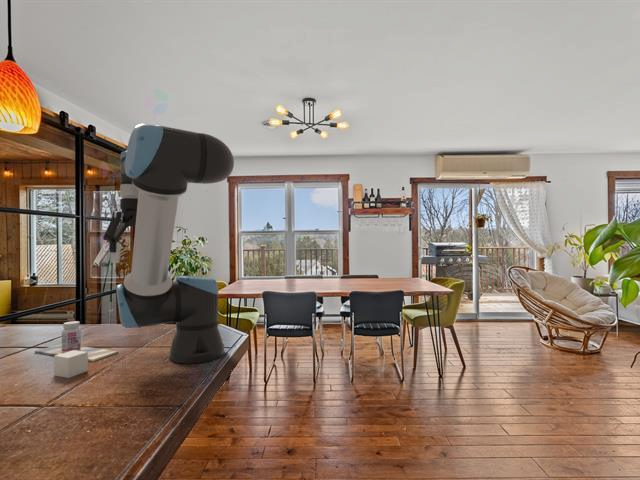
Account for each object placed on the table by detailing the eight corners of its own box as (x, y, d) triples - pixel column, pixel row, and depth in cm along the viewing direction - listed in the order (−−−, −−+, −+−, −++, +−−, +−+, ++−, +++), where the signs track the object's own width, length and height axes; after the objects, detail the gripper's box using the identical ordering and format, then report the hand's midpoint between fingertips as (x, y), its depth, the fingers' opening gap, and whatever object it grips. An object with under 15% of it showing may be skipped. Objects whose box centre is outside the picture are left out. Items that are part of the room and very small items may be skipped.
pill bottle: (68, 353, 104) (68, 324, 104) (57, 351, 106) (57, 323, 106) (84, 349, 109) (84, 321, 109) (74, 347, 111) (74, 320, 111)
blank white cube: (87, 371, 92) (87, 351, 92) (68, 378, 87) (68, 357, 87) (73, 369, 94) (73, 350, 94) (54, 375, 89) (54, 355, 89)
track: (118, 353, 107) (118, 351, 107) (93, 361, 99) (93, 359, 99) (61, 345, 114) (61, 343, 114) (34, 352, 107) (34, 350, 107)
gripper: (152, 202, 132) (152, 259, 132) (89, 194, 109) (89, 263, 109) (169, 202, 130) (169, 260, 130) (108, 193, 106) (108, 264, 106)
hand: (132, 261), depth 119 cm, fingers open, 13 cm apart
